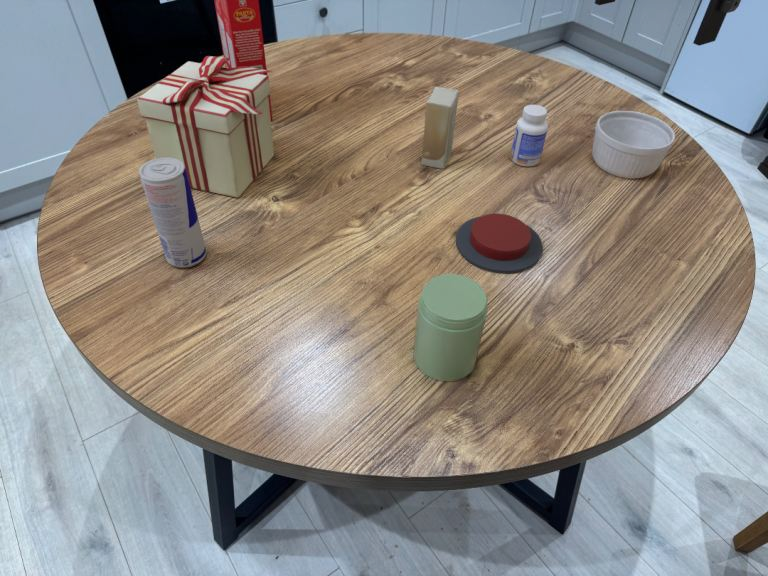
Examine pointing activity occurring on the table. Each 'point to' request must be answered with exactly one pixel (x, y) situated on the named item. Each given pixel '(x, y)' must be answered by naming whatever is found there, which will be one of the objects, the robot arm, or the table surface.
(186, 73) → the gift box
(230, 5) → the food packaging
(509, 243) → the lid
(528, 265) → the coaster
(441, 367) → the jar
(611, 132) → the ramekin
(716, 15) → the robot arm
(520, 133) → the pill bottle
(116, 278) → the table surface
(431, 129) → the cosmetic box
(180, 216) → the beverage can
